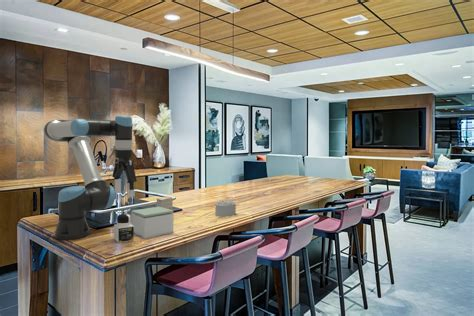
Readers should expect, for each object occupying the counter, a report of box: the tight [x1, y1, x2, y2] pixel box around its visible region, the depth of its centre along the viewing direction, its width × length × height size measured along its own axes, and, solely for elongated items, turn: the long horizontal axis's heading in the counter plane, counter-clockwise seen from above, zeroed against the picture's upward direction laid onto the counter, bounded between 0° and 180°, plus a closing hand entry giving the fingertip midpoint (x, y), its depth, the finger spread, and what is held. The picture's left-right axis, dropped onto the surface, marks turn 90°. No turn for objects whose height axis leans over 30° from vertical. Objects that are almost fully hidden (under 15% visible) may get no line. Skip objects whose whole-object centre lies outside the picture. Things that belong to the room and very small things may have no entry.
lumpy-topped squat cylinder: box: [214, 199, 237, 218], centre depth 213 cm, size 10×13×9 cm
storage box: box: [130, 212, 174, 240], centre depth 172 cm, size 16×14×10 cm
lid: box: [130, 206, 174, 217], centre depth 171 cm, size 16×14×1 cm
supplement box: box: [156, 196, 174, 211], centre depth 197 cm, size 8×5×13 cm, turn 141°
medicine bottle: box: [113, 213, 135, 244], centre depth 159 cm, size 7×7×12 cm
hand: (124, 194), depth 158 cm, fingers open, 13 cm apart
